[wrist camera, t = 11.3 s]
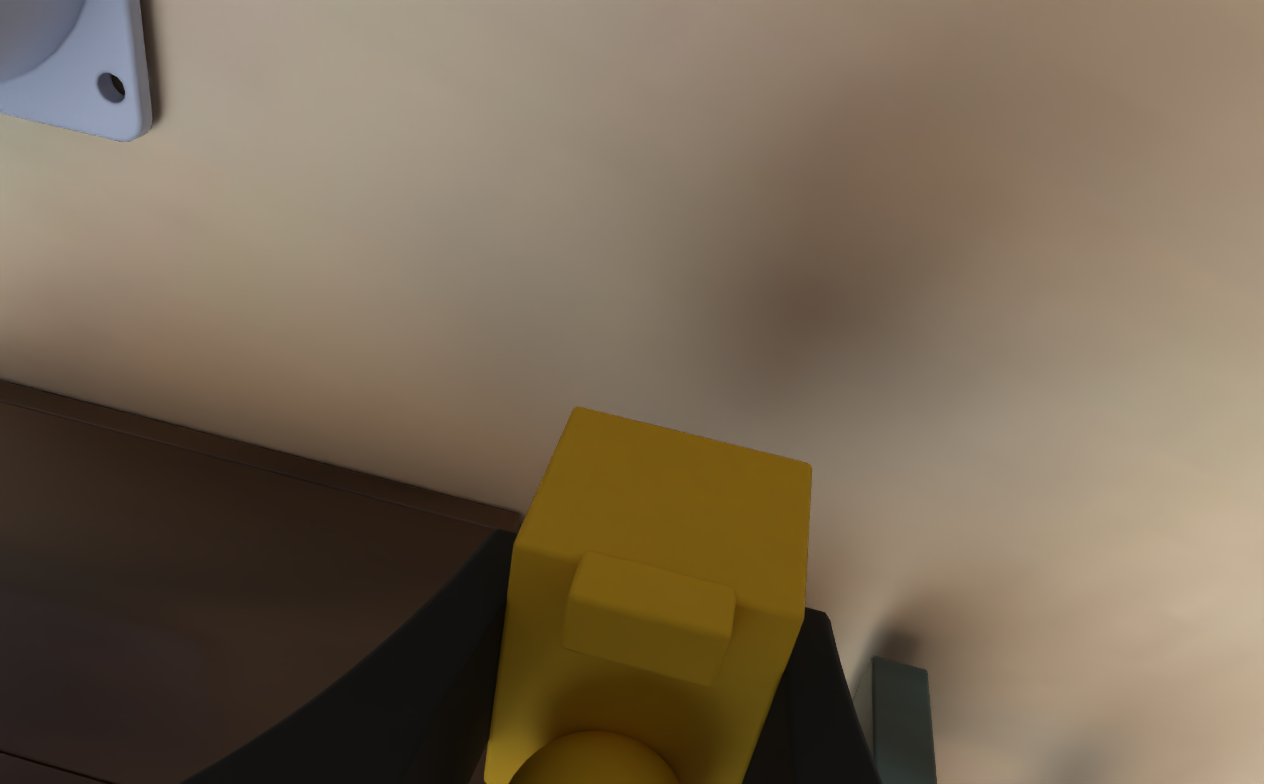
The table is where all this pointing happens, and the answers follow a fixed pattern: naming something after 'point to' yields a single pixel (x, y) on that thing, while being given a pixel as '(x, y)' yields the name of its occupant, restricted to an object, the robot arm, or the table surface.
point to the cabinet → (189, 587)
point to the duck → (648, 608)
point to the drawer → (881, 723)
